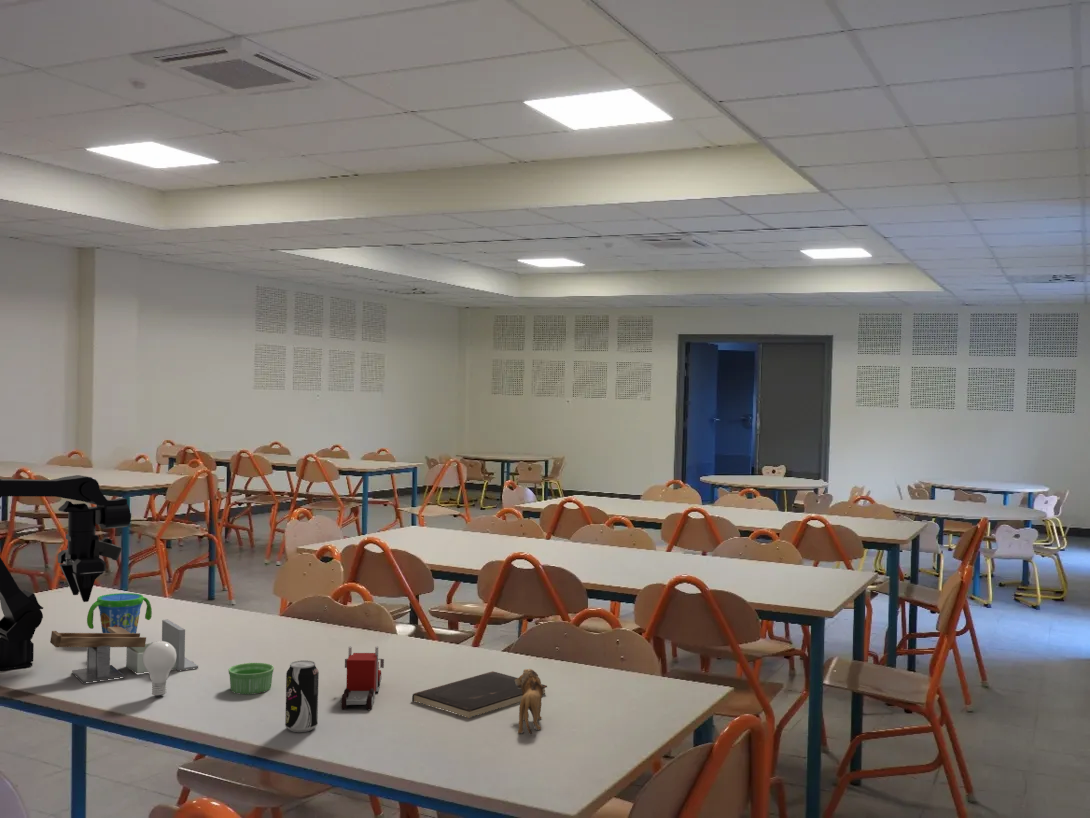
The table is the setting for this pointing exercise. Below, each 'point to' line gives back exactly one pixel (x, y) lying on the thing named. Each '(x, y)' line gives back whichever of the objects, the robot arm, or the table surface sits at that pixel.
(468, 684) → the hardcover book
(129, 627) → the snack cup
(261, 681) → the ramekin
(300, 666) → the beverage can
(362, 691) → the toy truck
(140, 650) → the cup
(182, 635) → the backboard
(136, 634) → the lever
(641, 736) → the table surface
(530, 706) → the lion figurine
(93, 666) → the fulcrum
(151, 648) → the lightbulb
